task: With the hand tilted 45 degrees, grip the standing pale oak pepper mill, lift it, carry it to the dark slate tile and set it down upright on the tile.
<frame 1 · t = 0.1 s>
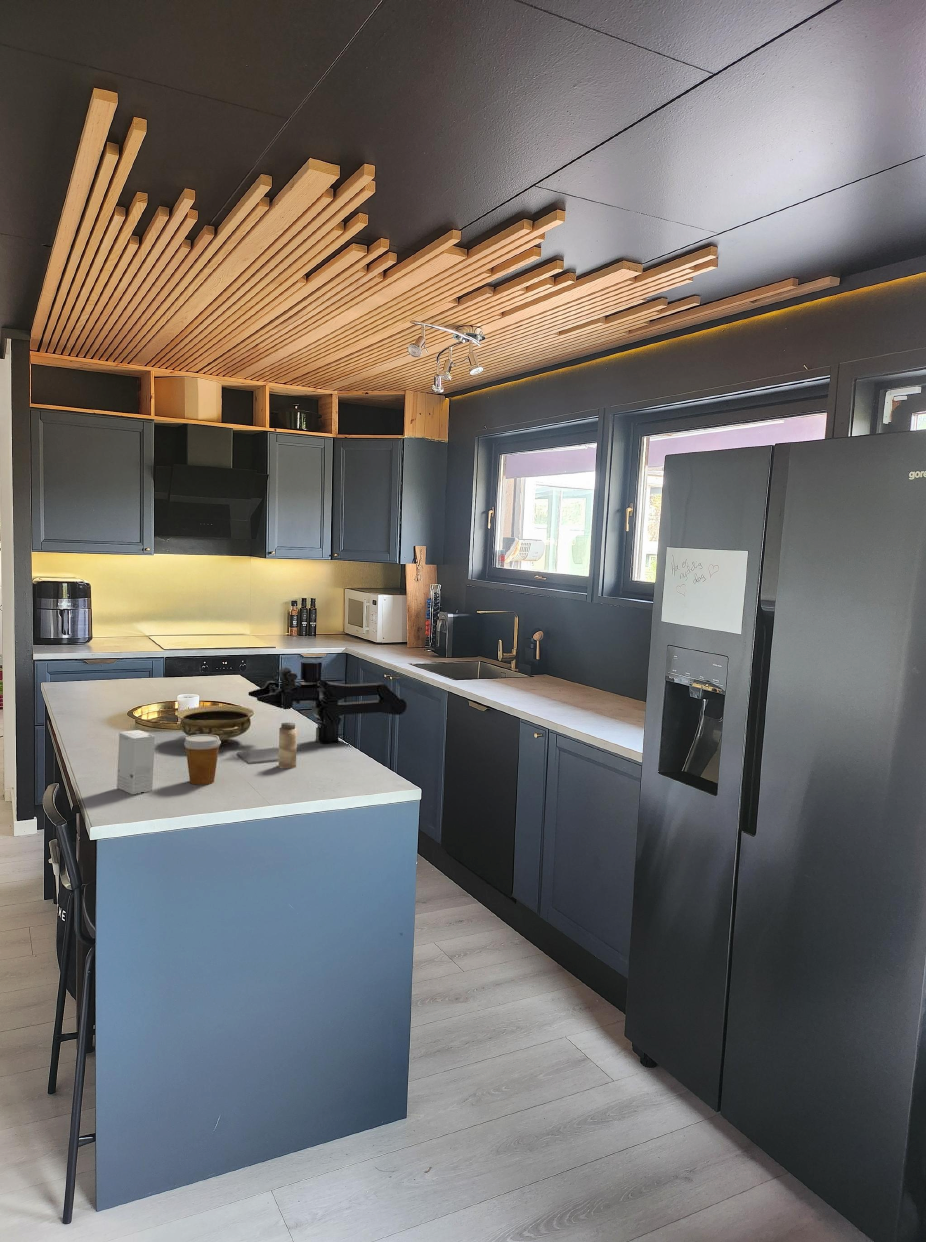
hand: (252, 696, 263), 17 cm above the countertop, tool horizontal, fingers open, 9 cm apart
slate tile: (264, 756, 254), on the countertop
skincare box: (135, 790, 216), on the countertop
gold ornate bowl: (215, 743, 269), on the countertop
oak pepper mill: (287, 766, 244), on the countertop
disposable coffee cup: (202, 782, 225), on the countertop
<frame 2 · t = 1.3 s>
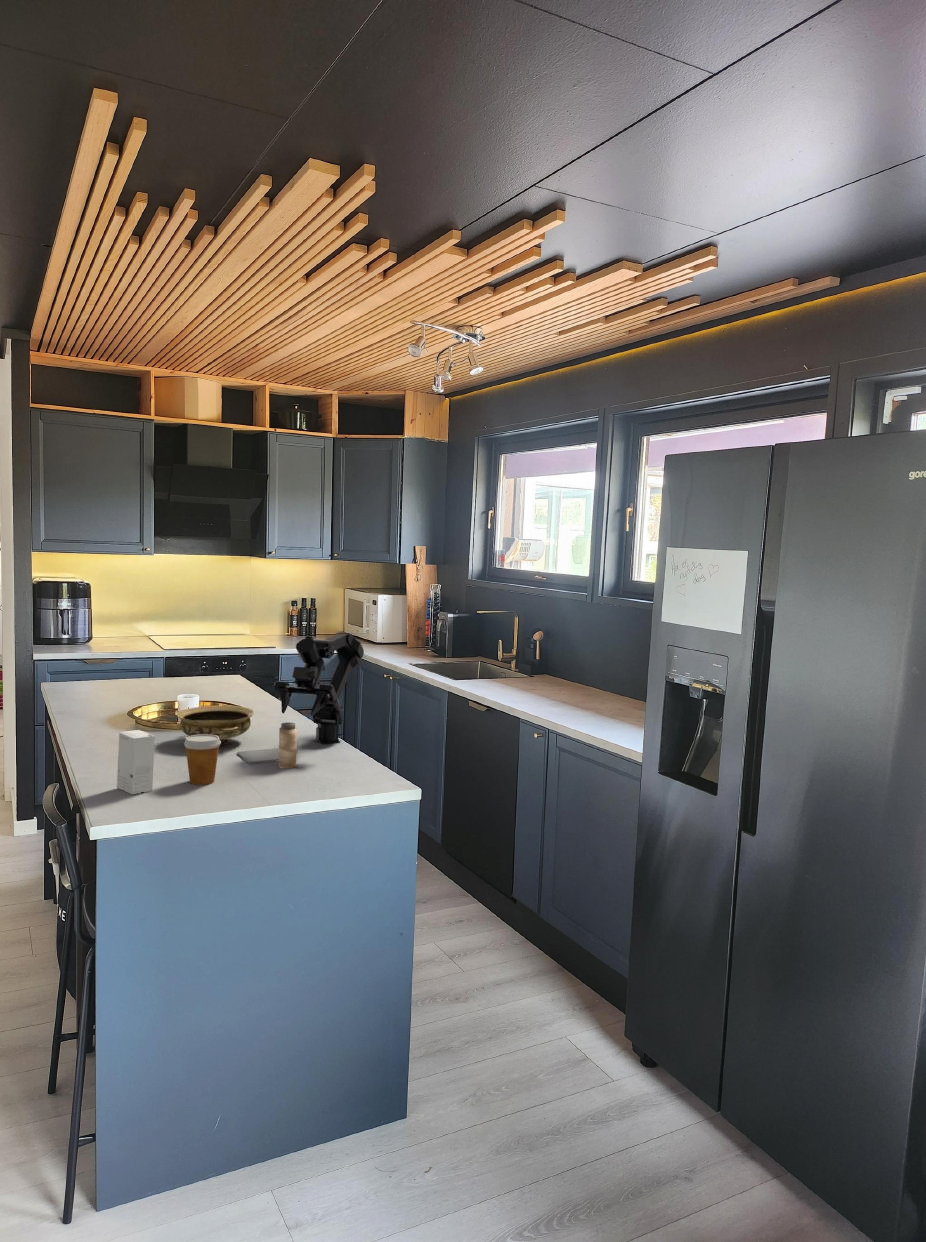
hand: (297, 713, 251), 14 cm above the countertop, tool tilted 45°, fingers open, 9 cm apart
nothing on the countertop moved.
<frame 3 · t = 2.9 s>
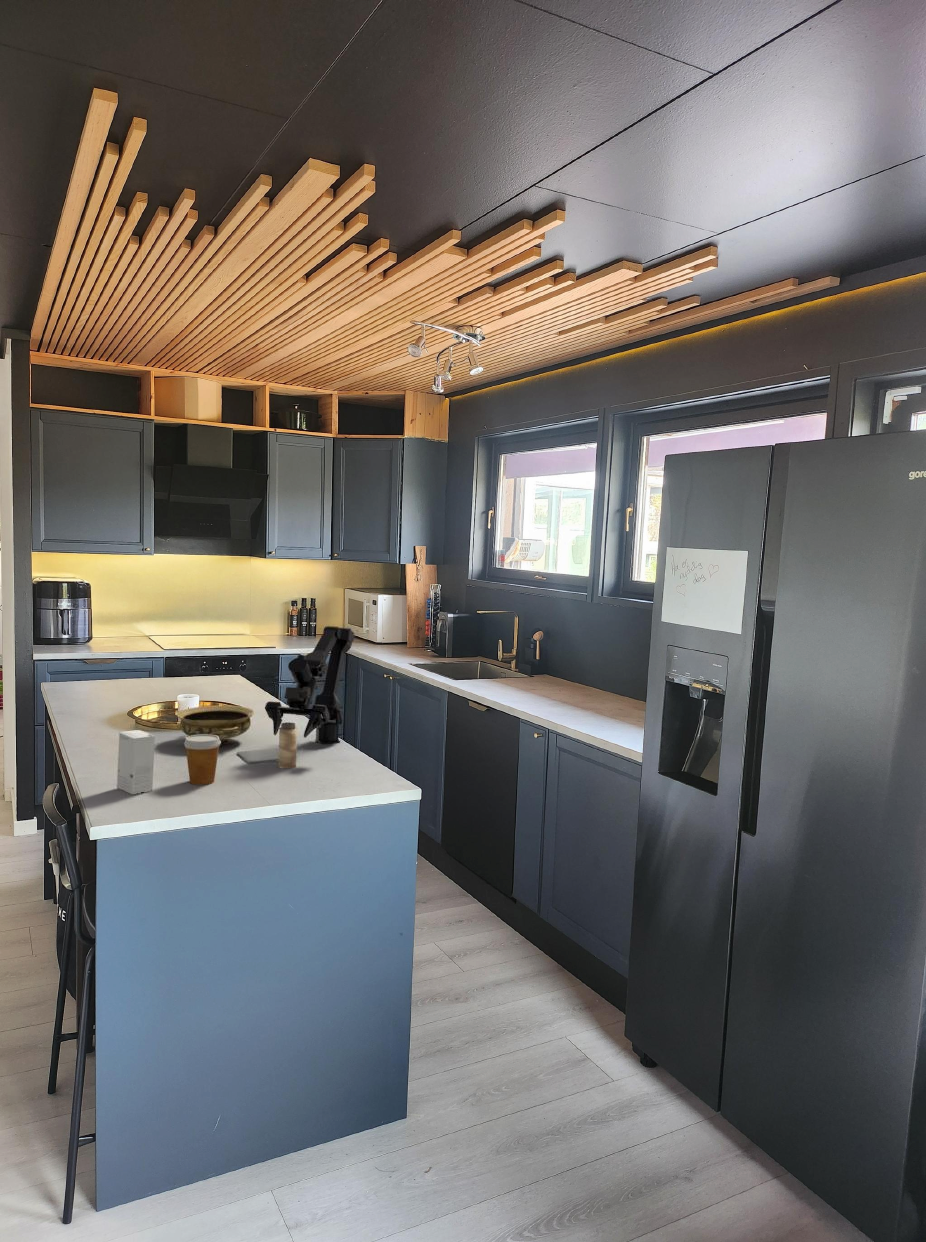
hand: (289, 735, 245), 9 cm above the countertop, tool tilted 45°, fingers open, 9 cm apart
nothing on the countertop moved.
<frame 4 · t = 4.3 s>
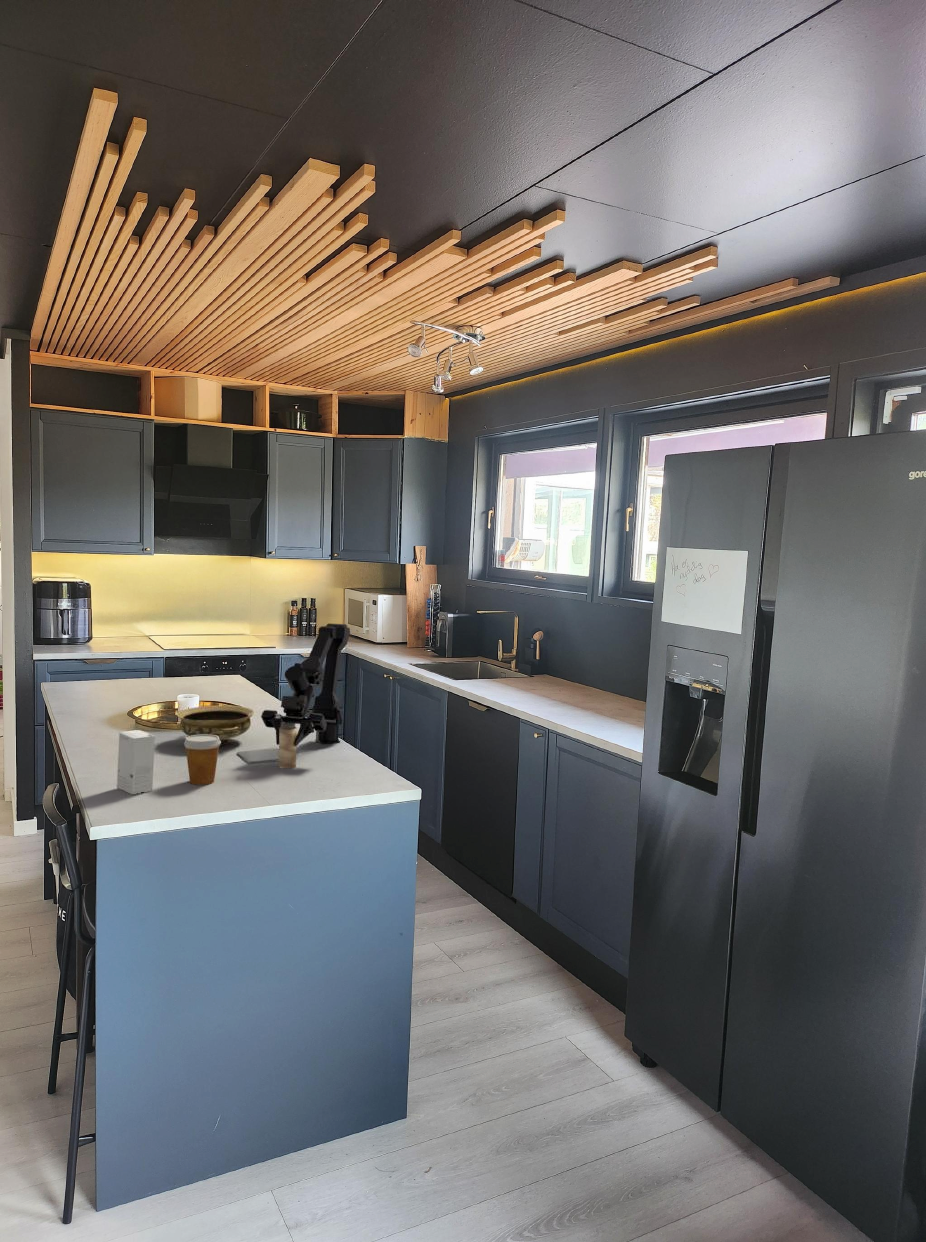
hand: (286, 744, 242), 7 cm above the countertop, tool tilted 45°, fingers closed on oak pepper mill, 5 cm apart
oak pepper mill: (287, 766, 244), on the countertop, touching gripper
everything else where it was.
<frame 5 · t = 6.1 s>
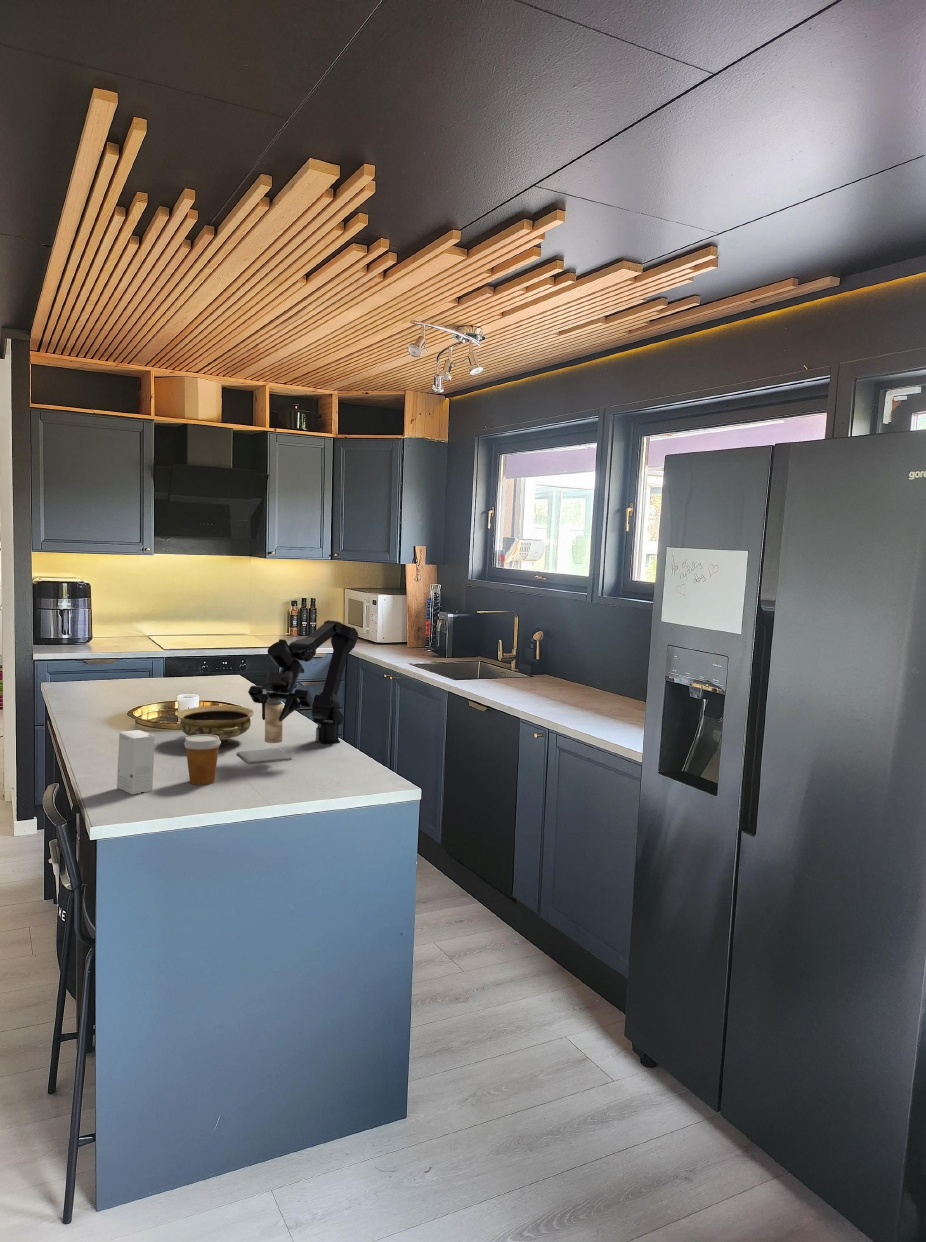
hand: (271, 720, 244), 13 cm above the countertop, tool tilted 45°, fingers closed on oak pepper mill, 5 cm apart
oak pepper mill: (273, 741, 246), point 7 cm above the countertop, touching gripper
everything else where it was.
when the fingers open (8 cm above the countertop, at t = 8.2 s): oak pepper mill drops 1 cm, resting on slate tile.
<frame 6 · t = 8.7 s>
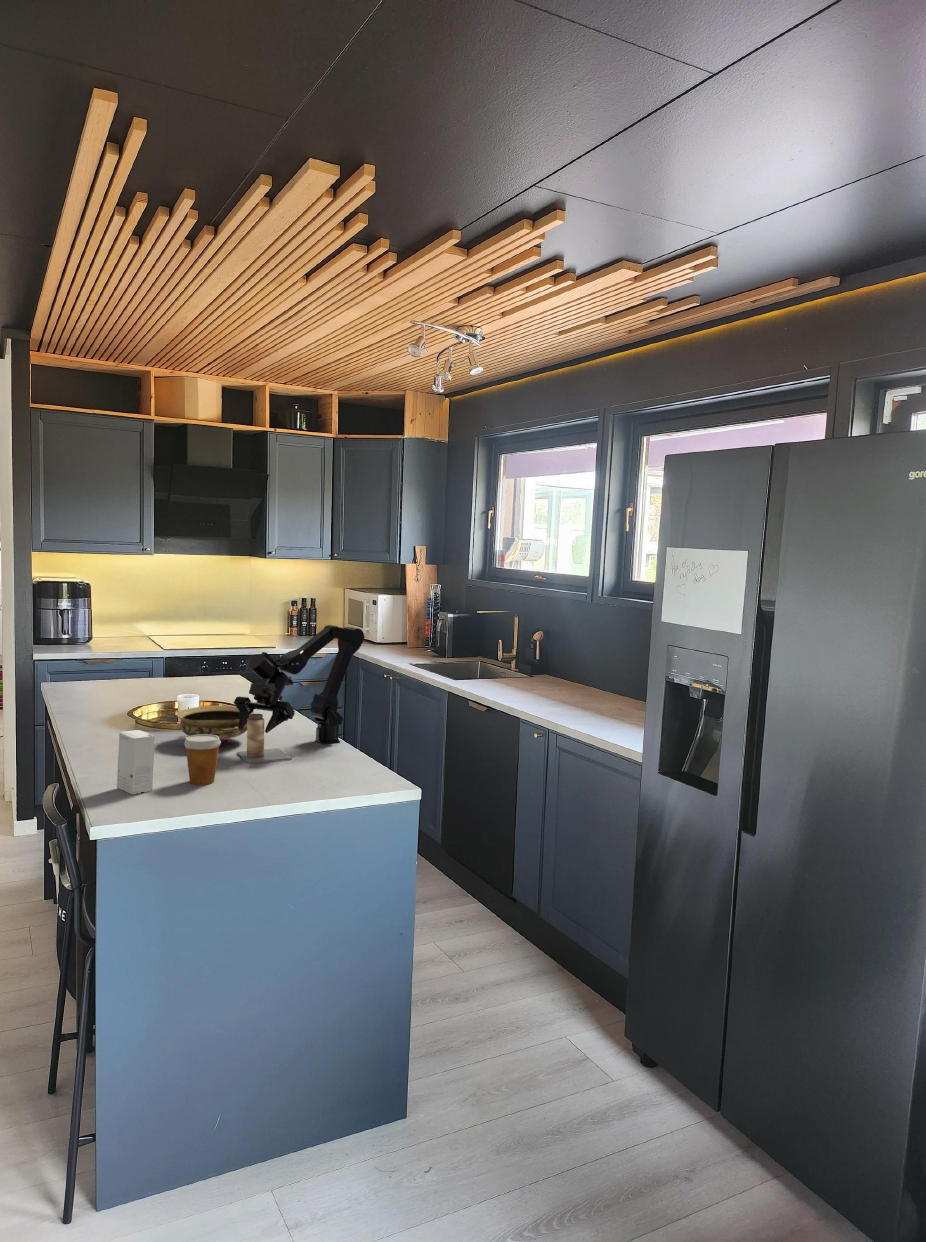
hand: (252, 730, 250), 9 cm above the countertop, tool tilted 45°, fingers open, 9 cm apart
oak pepper mill: (255, 755, 252), point 1 cm above the countertop, touching slate tile
everything else where it was.
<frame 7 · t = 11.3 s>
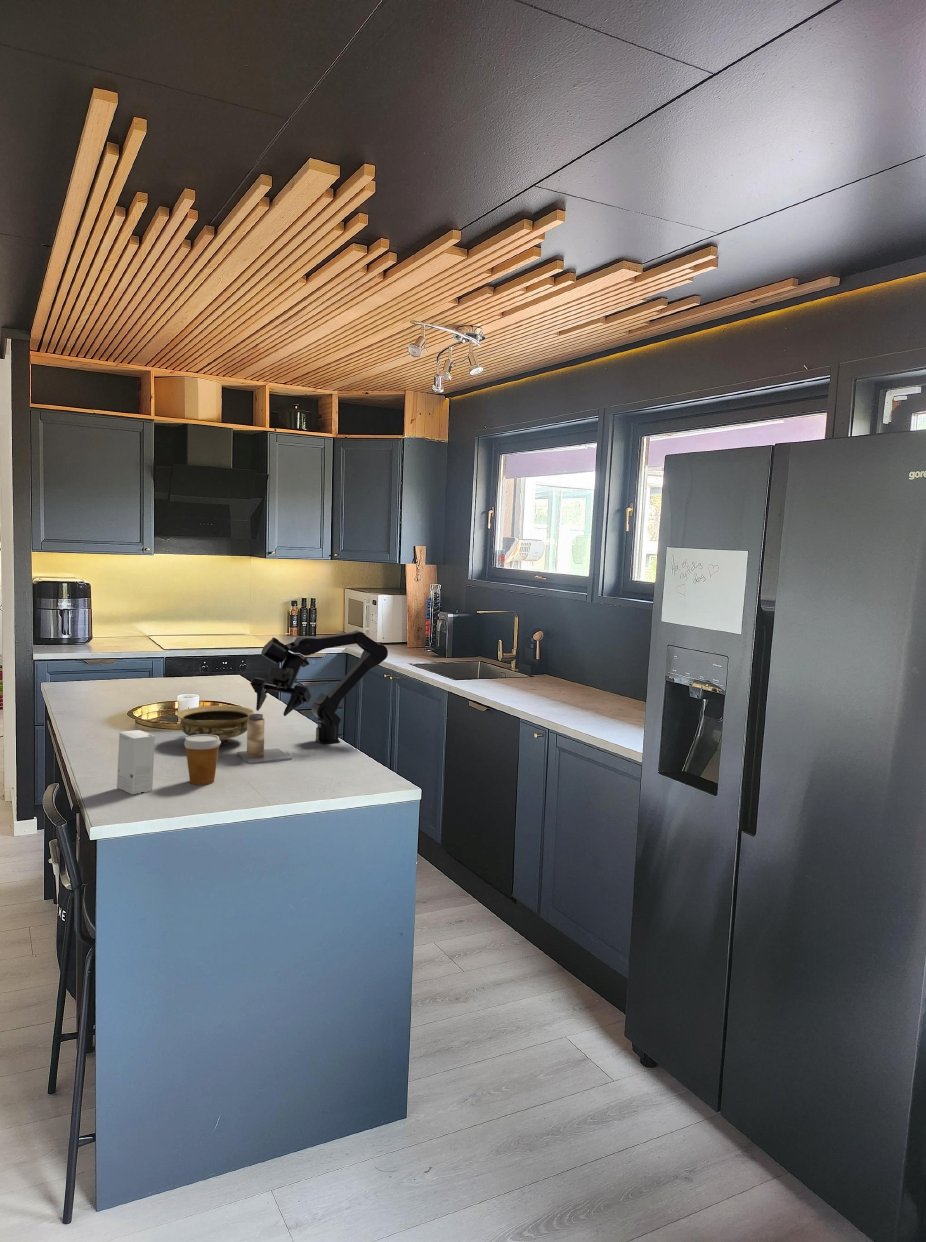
hand: (270, 712, 259), 12 cm above the countertop, tool tilted 40°, fingers open, 9 cm apart
nothing on the countertop moved.
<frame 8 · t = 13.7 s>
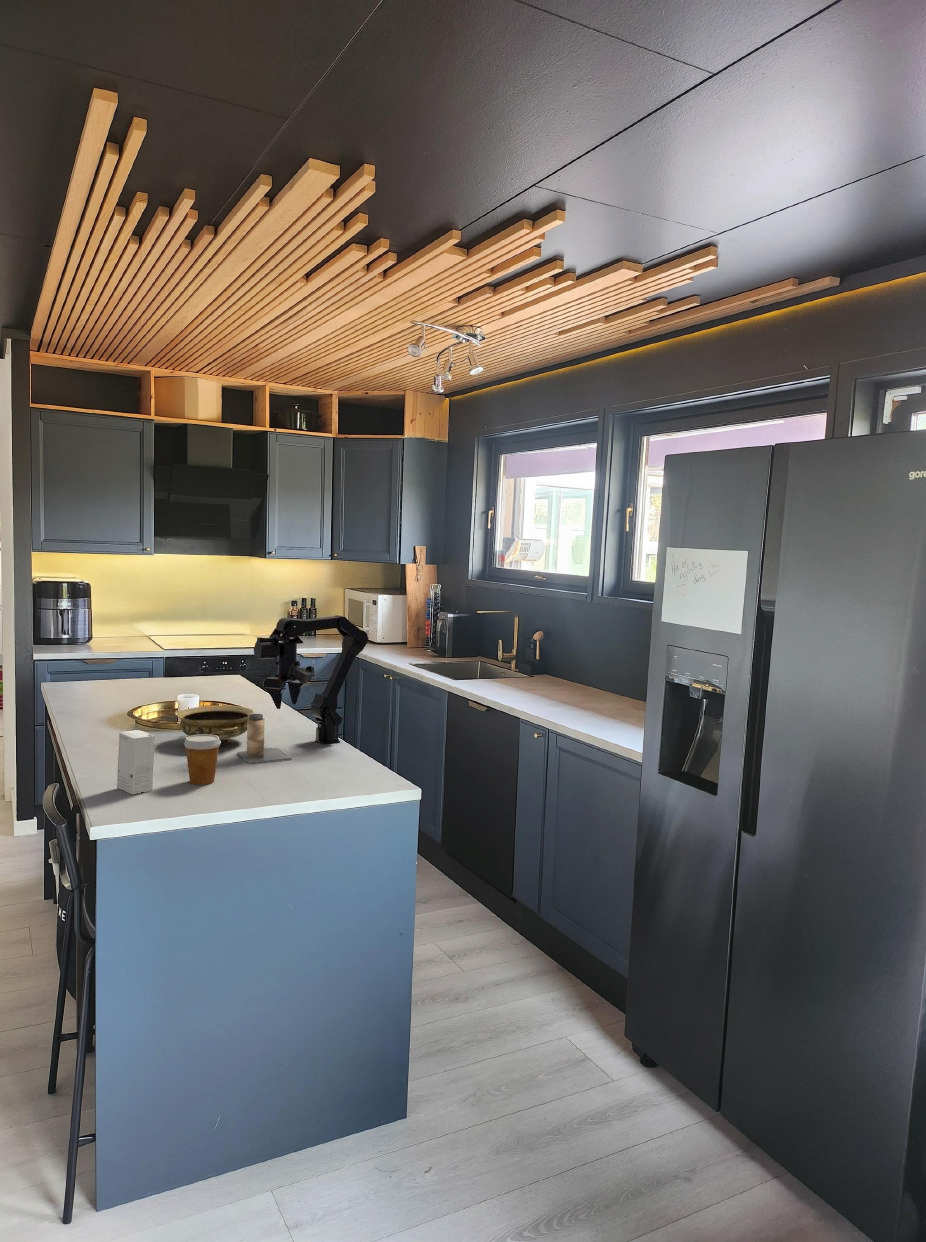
hand: (286, 706, 267), 13 cm above the countertop, tool pointing down, fingers open, 9 cm apart
nothing on the countertop moved.
at the end: oak pepper mill inside the target area on the slate tile (2.4 cm from its centre), point 0.6 cm above the slate tile's base; oak pepper mill tilted 0°; the gripper is holding nothing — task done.
